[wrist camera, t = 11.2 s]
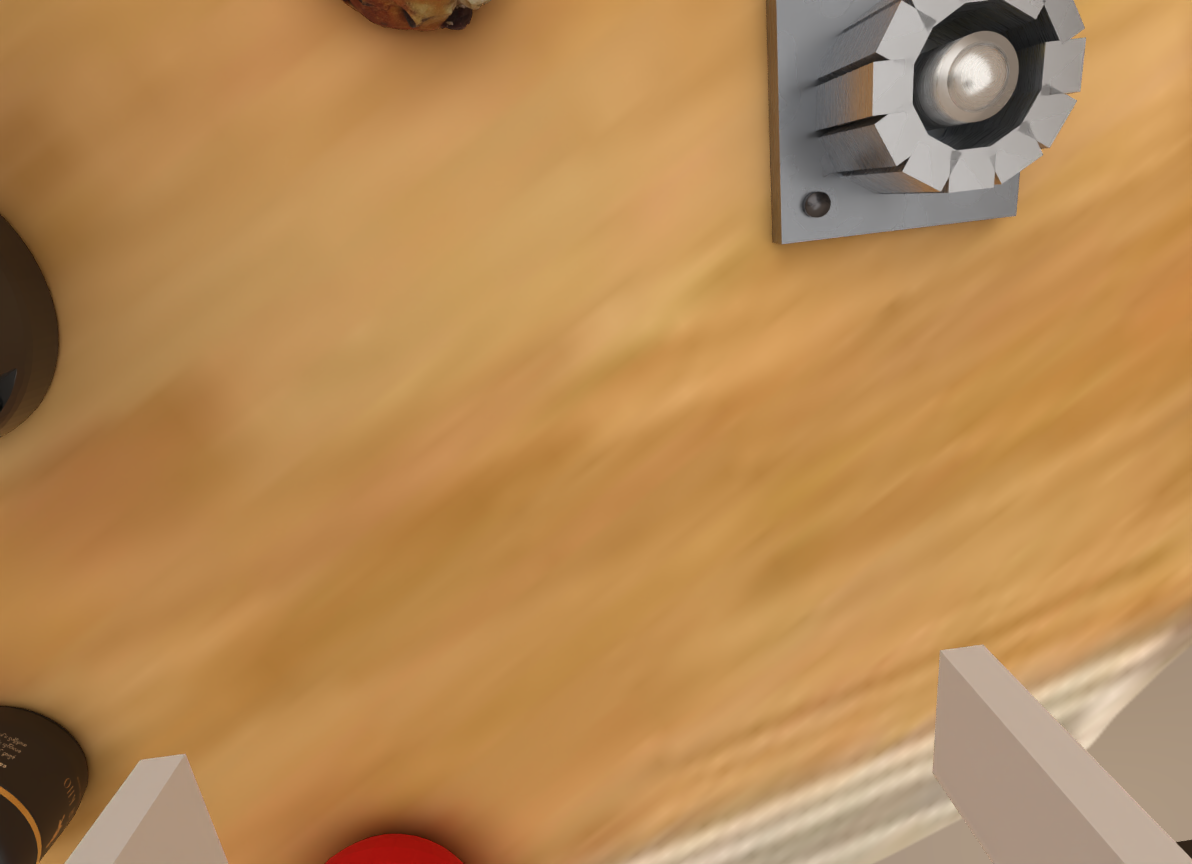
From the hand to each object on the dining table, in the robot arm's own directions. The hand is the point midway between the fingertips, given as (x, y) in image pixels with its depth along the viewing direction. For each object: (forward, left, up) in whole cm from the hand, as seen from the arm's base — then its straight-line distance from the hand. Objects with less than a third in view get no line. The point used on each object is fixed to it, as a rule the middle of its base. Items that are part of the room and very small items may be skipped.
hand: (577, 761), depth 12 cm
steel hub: (+18, +12, -25) cm, 33 cm away
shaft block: (+18, +12, -27) cm, 34 cm away
